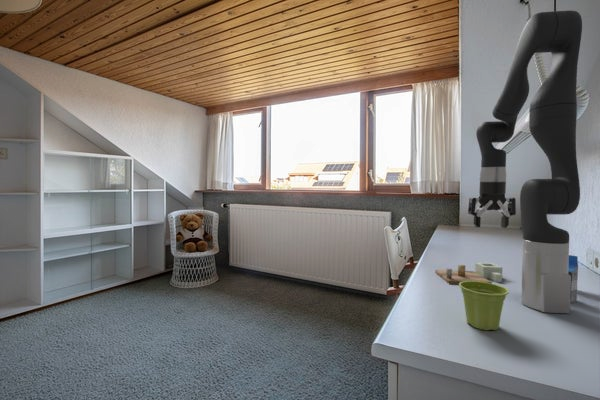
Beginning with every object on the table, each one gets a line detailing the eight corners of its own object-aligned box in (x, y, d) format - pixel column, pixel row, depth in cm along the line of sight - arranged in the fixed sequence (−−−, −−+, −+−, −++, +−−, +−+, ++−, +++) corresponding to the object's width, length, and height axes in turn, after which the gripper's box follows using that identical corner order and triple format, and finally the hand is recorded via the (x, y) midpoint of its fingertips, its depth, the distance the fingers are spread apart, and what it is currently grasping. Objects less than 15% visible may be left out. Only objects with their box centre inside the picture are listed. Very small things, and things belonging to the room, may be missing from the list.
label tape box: (532, 293, 86) (533, 251, 86) (539, 290, 88) (540, 250, 88) (570, 303, 79) (572, 257, 78) (577, 300, 81) (579, 256, 80)
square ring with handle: (475, 273, 107) (475, 262, 107) (492, 274, 106) (493, 263, 106) (488, 281, 97) (488, 269, 97) (508, 282, 97) (508, 270, 96)
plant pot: (463, 312, 73) (463, 278, 73) (509, 323, 67) (510, 285, 67) (454, 326, 66) (455, 287, 65) (505, 339, 60) (506, 297, 59)
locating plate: (491, 285, 93) (492, 271, 93) (448, 283, 95) (449, 270, 95) (472, 273, 106) (473, 261, 106) (435, 272, 108) (435, 260, 108)
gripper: (475, 180, 98) (474, 229, 99) (522, 180, 96) (519, 229, 97) (465, 180, 105) (464, 225, 106) (508, 180, 103) (506, 225, 105)
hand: (490, 227), depth 102 cm, fingers open, 8 cm apart
